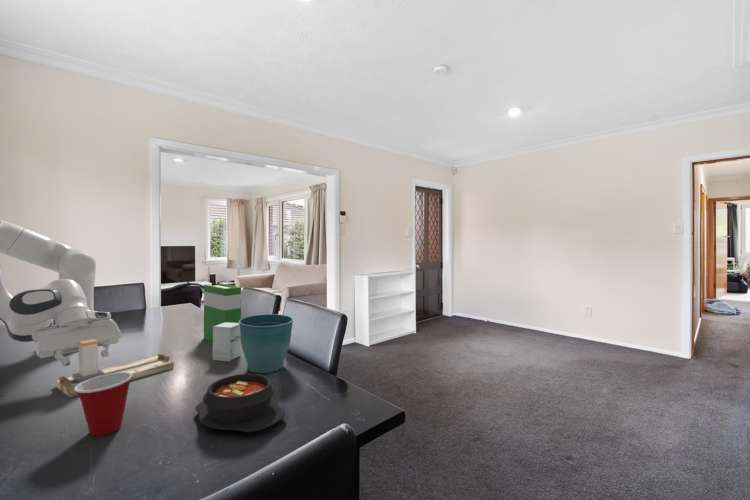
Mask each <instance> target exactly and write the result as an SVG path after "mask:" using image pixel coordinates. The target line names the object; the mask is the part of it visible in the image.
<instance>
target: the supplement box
mask: <svg viewBox="0 0 750 500" xmlns="http://www.w3.org/2000/svg"><path fill="white" fill-rule="evenodd" d="M241 355H242V345H241V335H240V324H239V323H228V322H224V323H222V324H219V325H216V326H213V342H212V361H218V362H219V361H221V362H231V361H233V360H234V359H236V358H239V357H240V356H241Z"/></svg>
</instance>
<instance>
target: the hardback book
mask: <svg viewBox="0 0 750 500" xmlns="http://www.w3.org/2000/svg"><path fill="white" fill-rule="evenodd" d="M241 319H242V287H241V286H237V285H231V284H226V283H225V284H224V283H220V282H219V283H217V284H216V285H209V284H203V339H204V338H205V340H207V339H208V340H207V341H209V340H210V342H212V341H213V326H216V325H219V324H222V323H224V322H228V323H239V320H241Z"/></svg>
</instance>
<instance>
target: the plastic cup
mask: <svg viewBox="0 0 750 500" xmlns="http://www.w3.org/2000/svg"><path fill="white" fill-rule="evenodd" d="M131 378H132V373H129V372H118V373H111V374H106V375H101V376H98V377H94V378H91V379H88V380H86V381H84V382H81V383H79V384H78V385H77V386H75V388H74V390H75V392H77V394H78V397H79V399H80V401H81V405H82V409H83V413H84V417H85V422H86V423H87V428H88V433H89V434H90V436H91V437H97V438H98V437H104V436H108V435H111V434H114V433H115V432H117V431H119V430H120V429H121V427H122V423H123V419H124V413H125V411H126V403H127V398H128V392H129V389H130V388H129V387H130V383H131V381H132V380H131Z"/></svg>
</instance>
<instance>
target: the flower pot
mask: <svg viewBox="0 0 750 500" xmlns="http://www.w3.org/2000/svg"><path fill="white" fill-rule="evenodd" d="M293 323H294V318H293V317H292V316H289V315H285V314H276V313H274V314H272V313H271V314H269V313H267V314H263V313H262V314H255V315H250V316H245V317H243V318H242V317H241V320H239V324H240V335H241V351H242V354H243V356H244V357H245V362H246V364H247V365H246V367H247V370H248V371H249V372H251V373H253V374H268V373H269V374H271V373H274V371H275V372H278V371H279V369H280V370H281V369H282V368H283V367H284V362H285V359H286V356H287V353H288V351H289V348H290V344H291V339H292V329H293Z"/></svg>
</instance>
